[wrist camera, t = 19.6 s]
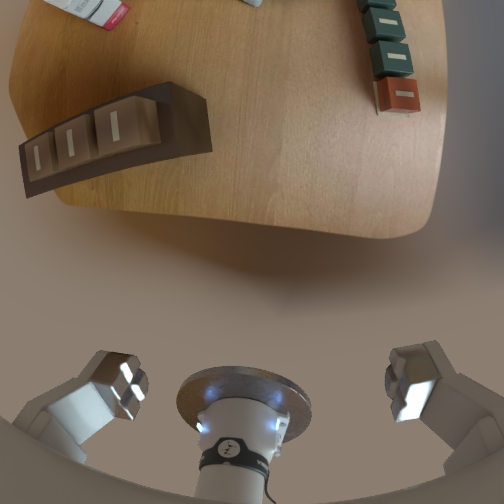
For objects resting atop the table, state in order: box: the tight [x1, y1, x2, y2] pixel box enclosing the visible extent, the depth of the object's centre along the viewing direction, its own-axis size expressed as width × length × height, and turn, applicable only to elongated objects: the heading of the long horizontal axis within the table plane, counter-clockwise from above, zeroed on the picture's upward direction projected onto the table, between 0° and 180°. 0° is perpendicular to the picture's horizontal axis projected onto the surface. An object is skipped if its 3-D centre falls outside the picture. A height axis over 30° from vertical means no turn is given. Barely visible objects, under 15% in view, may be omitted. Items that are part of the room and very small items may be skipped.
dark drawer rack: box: [19, 82, 212, 198], centre depth 26 cm, size 7×22×16 cm, turn 97°
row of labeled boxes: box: [357, 0, 414, 117], centre depth 24 cm, size 19×5×4 cm, turn 7°
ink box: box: [43, 0, 130, 31], centre depth 20 cm, size 8×5×12 cm, turn 49°
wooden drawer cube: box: [376, 77, 421, 114], centre depth 26 cm, size 4×4×4 cm
